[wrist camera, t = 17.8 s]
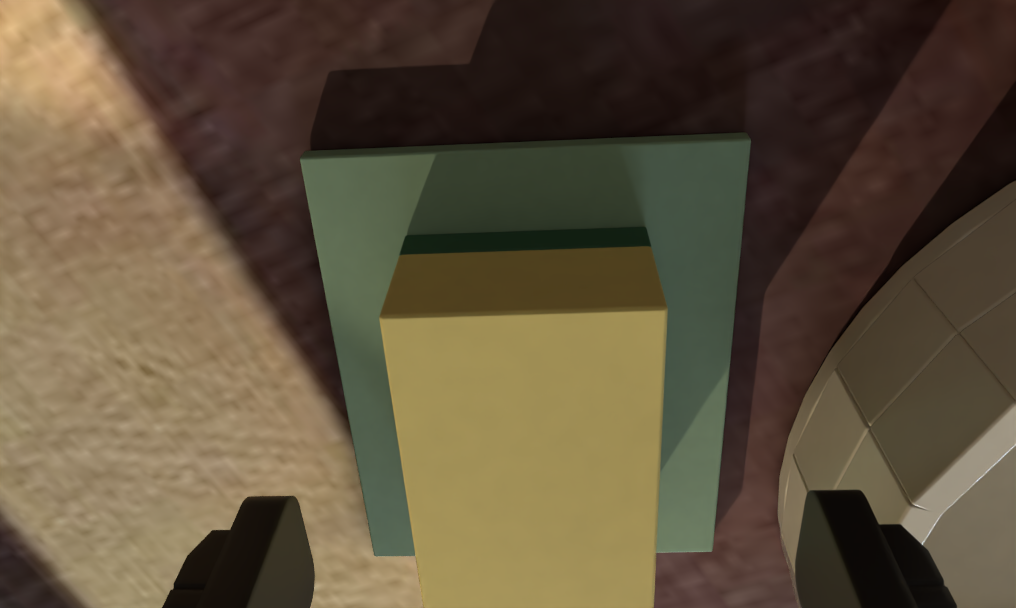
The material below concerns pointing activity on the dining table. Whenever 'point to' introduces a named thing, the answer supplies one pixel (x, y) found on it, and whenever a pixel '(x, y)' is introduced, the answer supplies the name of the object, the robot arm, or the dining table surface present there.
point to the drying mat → (534, 207)
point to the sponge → (529, 414)
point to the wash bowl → (926, 409)
